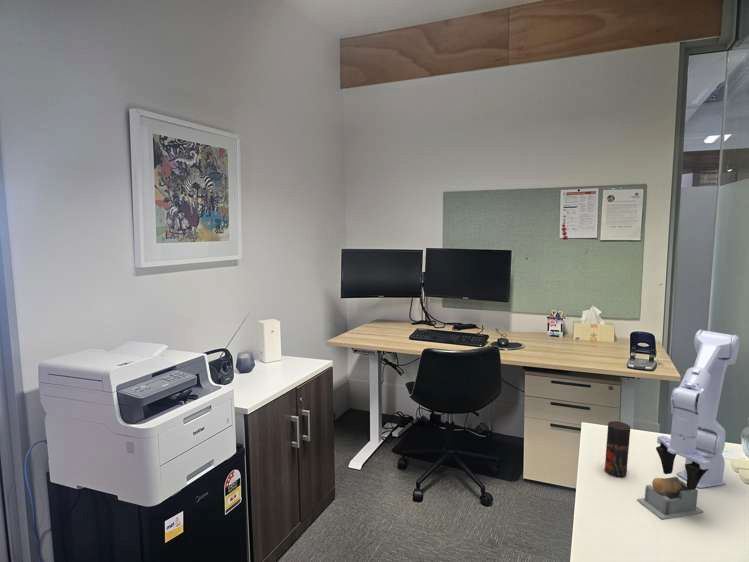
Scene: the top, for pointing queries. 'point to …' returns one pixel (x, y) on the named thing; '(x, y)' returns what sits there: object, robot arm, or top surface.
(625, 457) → the deodorant
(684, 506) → the socket
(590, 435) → the top surface
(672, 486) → the dowel
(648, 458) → the top surface
